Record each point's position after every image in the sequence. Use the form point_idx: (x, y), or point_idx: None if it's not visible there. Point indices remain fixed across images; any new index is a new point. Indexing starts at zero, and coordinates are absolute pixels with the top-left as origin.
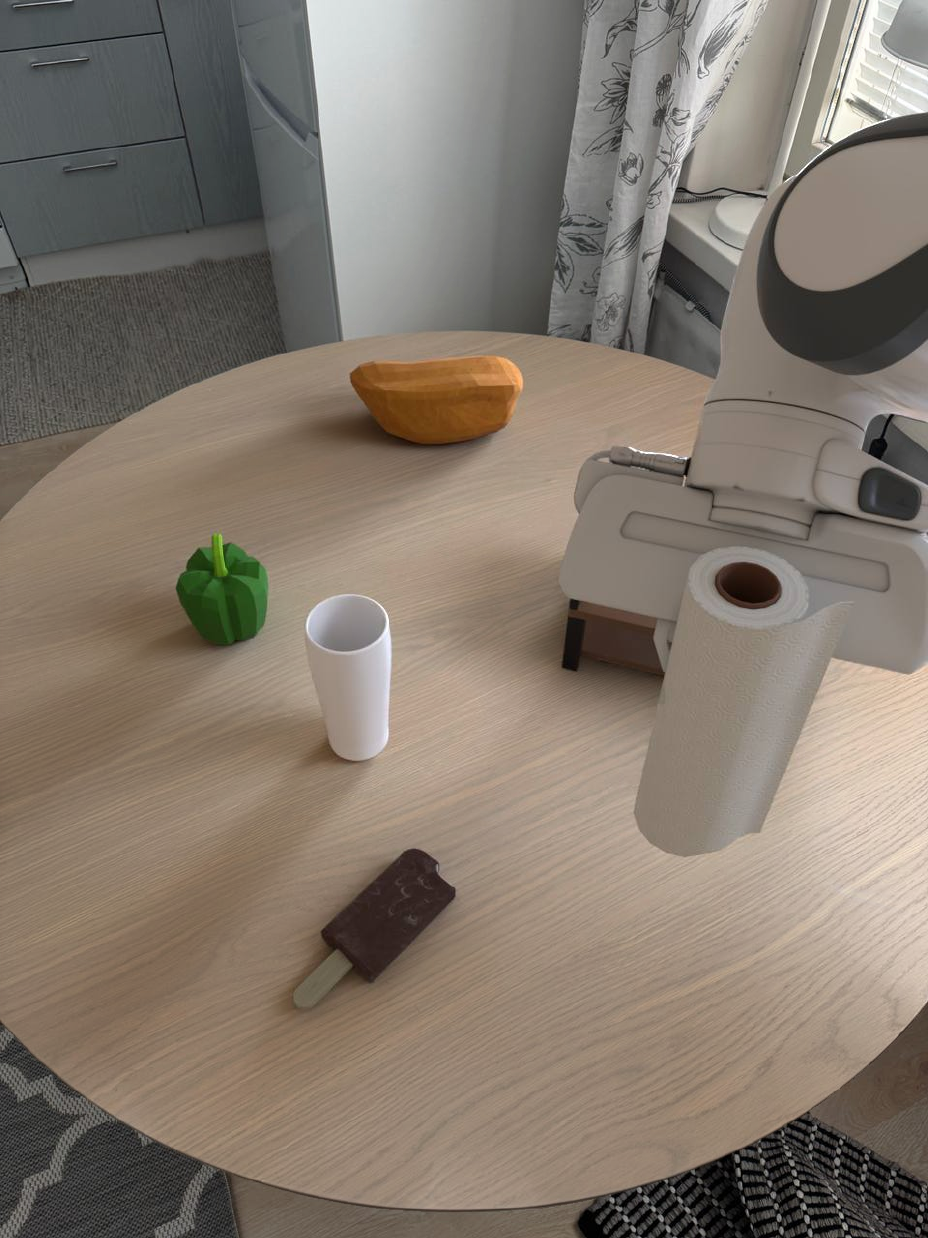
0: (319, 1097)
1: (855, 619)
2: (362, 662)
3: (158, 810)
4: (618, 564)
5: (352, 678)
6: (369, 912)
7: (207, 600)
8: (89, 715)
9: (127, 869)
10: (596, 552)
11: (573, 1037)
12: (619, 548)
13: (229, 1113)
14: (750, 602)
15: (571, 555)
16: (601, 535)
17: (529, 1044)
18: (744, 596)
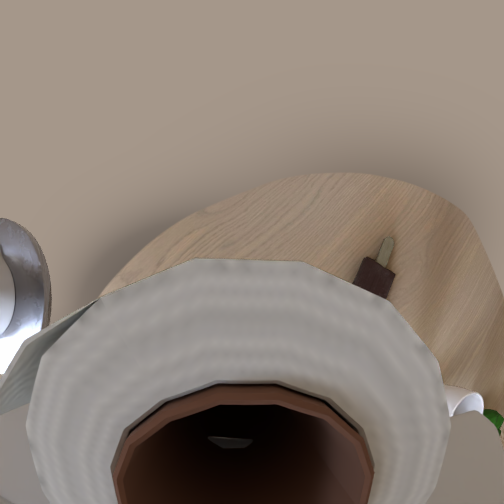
0: (365, 204)
1: (19, 453)
2: (452, 400)
3: (467, 316)
4: (454, 475)
5: (449, 392)
6: (378, 290)
7: (493, 416)
8: (498, 350)
9: (466, 284)
10: (482, 472)
11: (259, 255)
12: (462, 495)
13: (393, 192)
14: (210, 484)
15: (500, 451)
16: (487, 495)
17: (281, 246)
18: (229, 494)
